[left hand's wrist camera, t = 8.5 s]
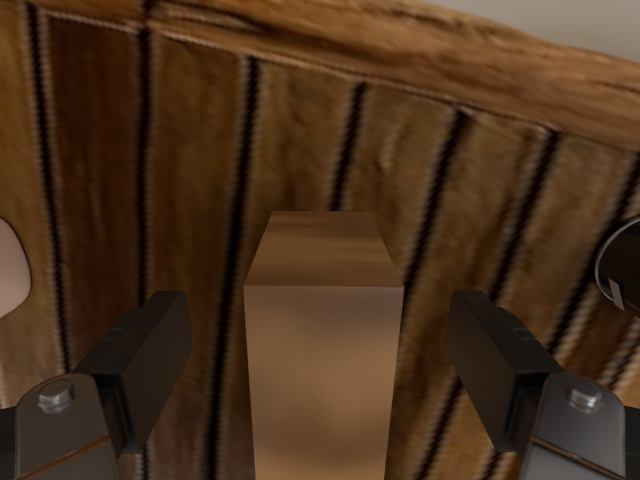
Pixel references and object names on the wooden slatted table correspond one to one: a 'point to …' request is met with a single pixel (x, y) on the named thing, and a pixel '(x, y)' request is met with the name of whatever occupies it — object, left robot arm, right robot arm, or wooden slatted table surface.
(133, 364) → the left robot arm
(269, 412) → the box
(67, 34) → the wooden slatted table surface
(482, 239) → the wooden slatted table surface
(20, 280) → the anatomical model
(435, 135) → the wooden slatted table surface
